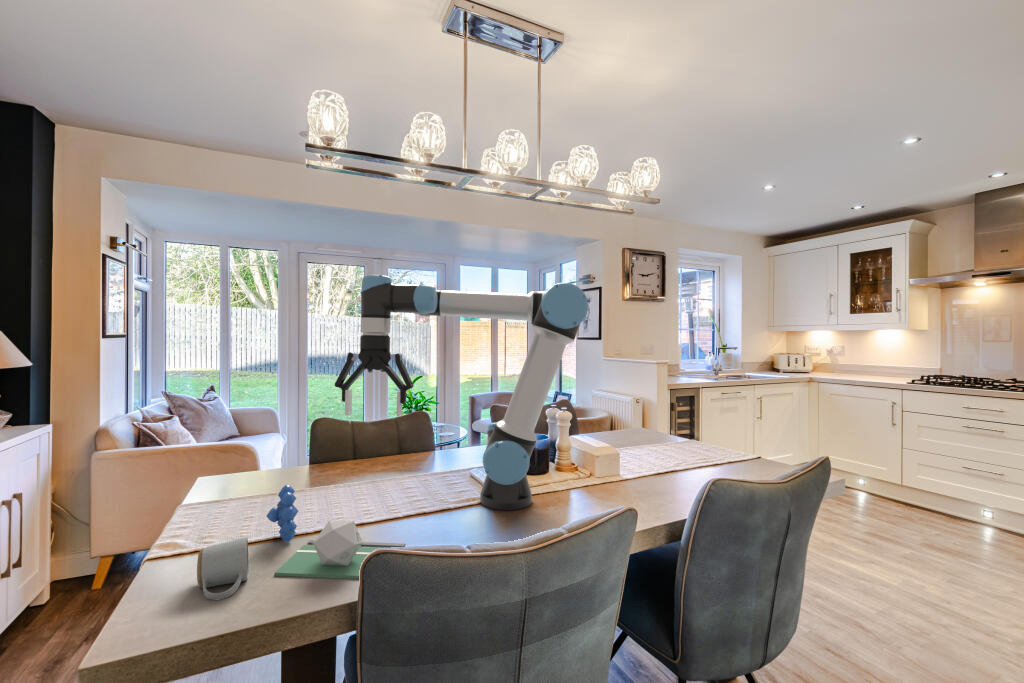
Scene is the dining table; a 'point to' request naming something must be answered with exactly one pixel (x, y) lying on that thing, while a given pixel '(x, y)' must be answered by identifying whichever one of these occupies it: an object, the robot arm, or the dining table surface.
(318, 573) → the felt mat
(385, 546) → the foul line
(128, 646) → the dining table surface
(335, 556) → the die
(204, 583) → the ceramic mug
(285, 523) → the grapes
